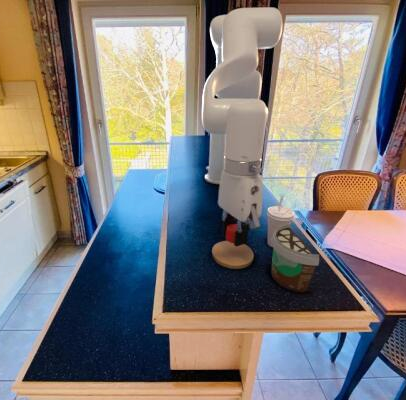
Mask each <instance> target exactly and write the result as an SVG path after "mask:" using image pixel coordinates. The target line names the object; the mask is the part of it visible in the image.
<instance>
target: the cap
mask: <svg viewBox="0 0 406 400" xmlns="http://www.w3.org/2000/svg"><path fill="white" fill-rule="evenodd" d="M237 230H238V229H237V223H235V224H230V225H228V226H227V229H226V236H225V237H224V238H225V241H228V242H230V243H234V240H235V231H237Z"/></svg>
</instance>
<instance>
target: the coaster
mask: <svg viewBox="0 0 406 400" xmlns="http://www.w3.org/2000/svg"><path fill="white" fill-rule="evenodd" d="M254 256H255V254H254V252H253V250H252V249H251V248H250V246H248V245H246V244H243V245H240V246H237V247H236V246H235V245H234V243H230V242H228V241H227V240H222V241H219V242H217V243H215V244H214V245H213V247H212V249H211V257H212V259H213V260H214V262H215V263H216V264H218V265H220V266H222V267H224V268H227V269H232V270H233V269H234V270H239V269H245V268H247V267H249V266H251V265H252V264H253V261H254V258H255V257H254Z"/></svg>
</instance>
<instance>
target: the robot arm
mask: <svg viewBox="0 0 406 400" xmlns="http://www.w3.org/2000/svg"><path fill="white" fill-rule="evenodd" d="M283 28H284V27H283V16H282V13H281V11H280V10H279V9H278V8H276V7H273V6H272V7H271V6H270V7H269V6H268V7H267V6H266V7H264V6H263V7H241V8H236V9H233V10H231V11H229V12H228V13H227V14H222V15H218V16H215V17H214V18H212V19H211V22H210V26H209V34H210V40H211V43H212V46H213V48H214V51H215V58H216V61H215V63H216V64H215V68H214V69H213V70H212V72H211V73H210V74H209V76H208V77H207V79H206V81H205V83H204V86H203V90H202V98H201V99H202V100H201V101H202V104H201V123H202V127H203V129H204V131H205V132H207V133H208V134H209V136H210V137H209V156H208V166H206V167H205V169H206V170H207V173H206V174H204V180H205V181H206V182H207V183H210V184H214V185H219V186H218V196H217V197H218V200H217V205H218V206H219V209H220V212H221V214H222V215H221V219H222V221H223V222H222V233H221V234H222V235H221V236H223V237H224V238H225V237H226V229H227V226H228V225H230V224H237V229H238V230H237V231H235V240H234V245H235V246H236V247H237V246H240V245H243V244H245V245H246V244H247V241H248V236H249V231H251V230H255V229H258V228H261V223H260V220H259V219H260V218H261V215H262V209H263V199H264V197H263V196H264V183H263V176H262V175H261V173H262V170H263V169H262V166H261V165H262V158H263V157H262V156H263V151H264V143H265V135H266V128H267V124H268V119H269V108H268V106H267V105H266V103H265V102H264V101H263V100H262V99H260V97H261V91H262V83H263V80H262V78H263V77H262V74H261V73H260V71H258V66H259V50H263V49H264V50H265V49H266V50H267V49H272V48H274V47H276V46H277V45H278V44H279V42H280V39H281V37H282V33H283ZM215 96H216V97H217V98H215ZM236 221H237V222H236ZM244 223H245V224H244Z"/></svg>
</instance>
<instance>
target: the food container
mask: <svg viewBox="0 0 406 400" xmlns="http://www.w3.org/2000/svg"><path fill="white" fill-rule="evenodd" d="M271 244H272V247H271V248H272V260H271V261H272V262H271V270H270V271H271V276H272V278H273V279H274V280H275V282H276V283H277V284H278V285H280V286H281V287H283V288H285V289H288V290H289V291H294V292H299V293H306V292H307V290H308V287H309V285H310V283H311V279H312V277H313V275H314V271H315V269H316V266H318V267H319V265H320V254H314V253H313V252H312V251H311V250H310V248H309V246H307V244H306V243H305V241H304V240H303V239H302V238H301V237H300V236H299V235H298V234H296V233H295V232H294V230H293V229H292V224H287V225H283V226H280V227H279V228H277V230H276V231H275V232H274V234H273V236H272V238H271Z"/></svg>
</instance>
